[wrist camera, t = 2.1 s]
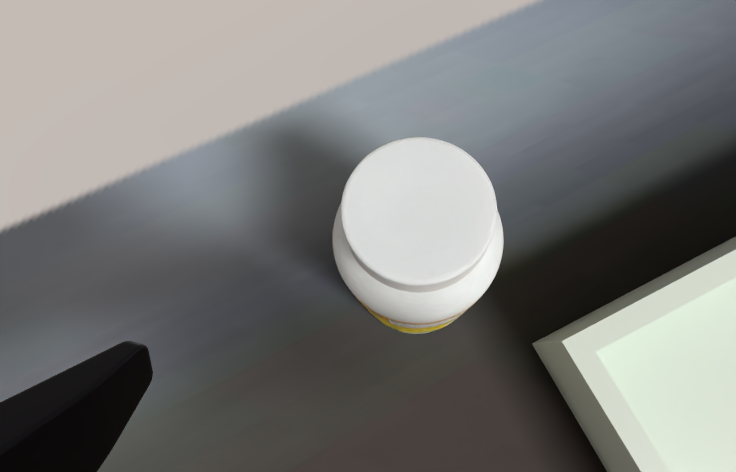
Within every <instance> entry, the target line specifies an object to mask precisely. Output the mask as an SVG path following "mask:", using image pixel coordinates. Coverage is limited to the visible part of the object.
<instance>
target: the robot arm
mask: <svg viewBox="0 0 736 472" xmlns="http://www.w3.org/2000/svg"><path fill="white" fill-rule="evenodd" d="M152 375H153V371H152V366H151V361H150V356H149V351H148V348H147V347H146V346H145V345H143V344H139V343H136V342H132V341H125V342H122V343H120V344H118V345H116V346H114V347H112V348H110V349H108V350H106V351H104V352H102V353H100V354H98V355H96V356H94V357H92V358H90V359H88V360H86V361H84V362H81V363H79V364H77V365H75V366H73V367H71V368H69V369H67V370H65V371H63V372H61V373H59V374H57V375H55V376H53V377H51V378H49V379H47V380H45V381H43V382H41V383H39V384H37V385H35V386H33V387H31V388H29V389H27V390H25V391H23V392H21V393H19V394H17V395H15V396H13V397H11V398H8V399H6V400H4V401H2V402H0V472H97V471H98V469H99V468H100V466H101V465H102V463H103V462H104V460H105V459H106V458H107V456H108V455H109V453H110V451H111V450H112V448H113V447H114V445H115V443H116V442H117V440H118V438H119V436H120V435H121V433H122V431H123V430H124V428H125V426H126V424H127V423H128V421H129V419H130V417H131V416H132V414H133V412H134V411H135V409H136V407H137V405H138V404H139V402H140V400H141V398H142V397H143V395H144V393H145V392H146V390H147V388H148V386H149V384H150V382H151V380H152Z"/></svg>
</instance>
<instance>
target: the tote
mask: <svg viewBox="0 0 736 472" xmlns="http://www.w3.org/2000/svg"><path fill="white" fill-rule="evenodd" d="M532 345H533V347H534V348H535V350H536V352H537V353H538V355H539V357H540V359H541V360H542V362H543V364H544V365H545V367H546V369H547V370H548V372H549V374H550V376H551V377H552V379H553V381H554V382H555V384H556V386H557V387H558V389H559V391H560V393H561V394H562V396H563V398H564V399H565V401H566V403H567V404H568V406H569V408H570V410H571V411H572V413H573V415H574V416H575V418H576V420H577V421H578V423H579V425H580V427H581V428H582V430H583V432H584V433H585V435H586V437H587V438H588V440H589V442H590V443H591V445H592V447H593V449H594V450H595V452H596V454H597V455H598V457H599V459H600V460H601V462H602V464H603V466H604V467H605V469H606V471H607V472H736V236H735V237H733V238H731V239H730V240H728V241H726V242H724V243H722V244H720V245H718V246H716V247H714V248H713V249H711V250H709V251H707V252H705V253H703V254H701V255H699V256H697V257H695V258H694V259H692V260H690V261H688V262H686V263H684V264H682V265H680V266H678V267H676V268H675V269H673V270H671V271H669V272H667V273H665V274H663V275H661V276H659V277H658V278H656V279H654V280H652V281H650V282H648V283H646V284H644V285H642V286H640V287H639V288H637V289H635V290H633V291H631V292H629V293H627V294H625V295H623V296H621V297H620V298H618V299H616V300H614V301H612V302H610V303H608V304H606V305H604V306H602V307H601V308H599V309H597V310H595V311H593V312H591V313H589V314H587V315H585V316H584V317H582V318H580V319H578V320H576V321H574V322H572V323H570V324H568V325H566V326H565V327H563V328H561V329H559V330H557V331H555V332H553V333H551V334H549V335H547V336H546V337H544V338H542V339H540V340H538V341H536V342H534V343H532Z"/></svg>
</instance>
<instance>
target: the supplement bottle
mask: <svg viewBox="0 0 736 472" xmlns="http://www.w3.org/2000/svg"><path fill="white" fill-rule="evenodd" d="M332 243H333V252H334V257H335V261H336V264H337V267H338V270H339V272H340V274H341V276H342V278H343V280H344V282H345V284H346V285H347V286H348V288H349V289H350V290H351V292H352V293H353V294H354V296H355V297H356V298H357V299H358V300H359V301H360V302H361V304H362V305H363V306H364V307H365V308H366V309H367V310H368V311H369V312H370V313H371V314H372V315H373V316H374V317H376V318H377V319H378V320H379V321H381V322H382V323H383V324H385V325H387V326H388V327H390V328H392V329H395V330H397V331H400V332H405V333H415V334H418V333H428V332H431V331H435V330H438V329H440V328H443V327H445V326H446V325H448V324H450V323H452V322H453V321H454V320H456V319H457V318H458V317H459V316H460V315H461V314H463V313H464V312H465V311H466V310H467V309H468V308H470V307H471V306H472V305H473V304H474V303H475V302H476V301H477V300H478V299H479V298H480V297H481V296H482V295H483V294H484V292H485V291H486V290H487V289H488V287H489V286H490V284H491V283H492V281H493V279H494V277H495V275H496V273H497V271H498V268H499V265H500V261H501V257H502V252H503V229H502V224H501V219H500V216H499V213H498V210H497V204H496V198H495V193H494V189H493V187H492V184H491V182H490V180H489V178H488V176H487V174H486V173H485V171H484V170H483V168H482V167H481V166H480V165H479V164H478V162H477V161H476V160H475V159H474V158H473V157H471V156H470V155H469V154H467V153H466V152H465V151H464V150H462V149H460V148H458V147H457V146H455V145H453V144H450V143H448V142H445V141H442V140H438V139H433V138H426V137H411V138H404V139H400V140H396V141H392V142H389V143H387V144H385V145H383V146H381V147H379V148H377V149H376V150H374V151H373V152H371V153H370V154H368V155H367V156H366V157H365V158H364V159H363V160H362V161H361V162H360V163H359V164H358V165H357V166H356V168H355V169H354V171H353V172H352V174H351V175H350V177H349V179H348V180H347V183H346V186H345V188H344V191H343V195H342V200H341V204H340V206H339V209H338V211H337V214H336V218H335V221H334V227H333V238H332Z"/></svg>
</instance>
